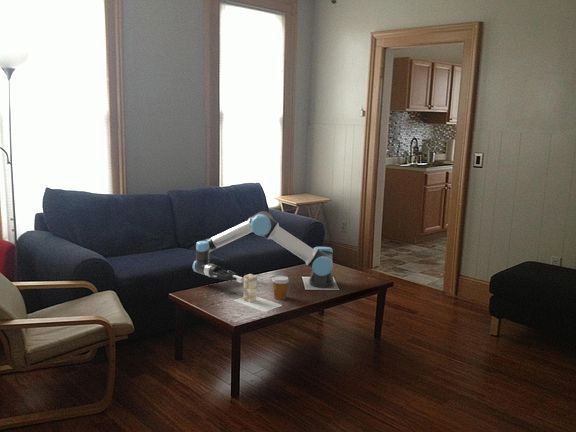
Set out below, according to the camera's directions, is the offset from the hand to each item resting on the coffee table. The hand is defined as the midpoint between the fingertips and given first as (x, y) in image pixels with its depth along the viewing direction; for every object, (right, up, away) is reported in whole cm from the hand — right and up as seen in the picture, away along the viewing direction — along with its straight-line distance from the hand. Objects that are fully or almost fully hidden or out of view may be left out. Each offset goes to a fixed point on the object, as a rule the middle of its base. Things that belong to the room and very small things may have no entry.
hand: (241, 280), depth 293 cm
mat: (+9, -12, -5) cm, 16 cm away
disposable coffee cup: (+21, -11, +4) cm, 24 cm away
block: (+5, -11, -2) cm, 12 cm away
